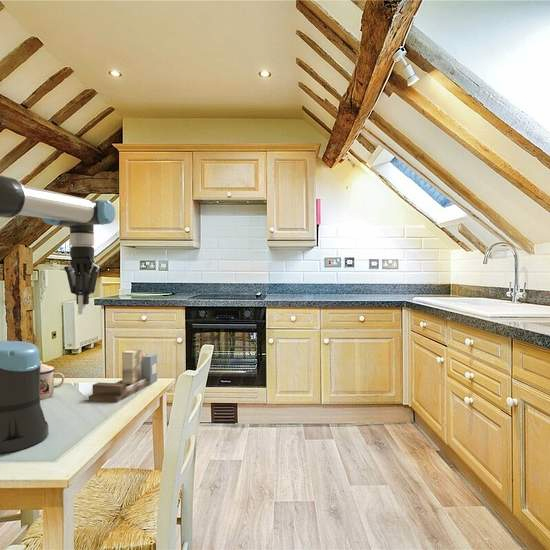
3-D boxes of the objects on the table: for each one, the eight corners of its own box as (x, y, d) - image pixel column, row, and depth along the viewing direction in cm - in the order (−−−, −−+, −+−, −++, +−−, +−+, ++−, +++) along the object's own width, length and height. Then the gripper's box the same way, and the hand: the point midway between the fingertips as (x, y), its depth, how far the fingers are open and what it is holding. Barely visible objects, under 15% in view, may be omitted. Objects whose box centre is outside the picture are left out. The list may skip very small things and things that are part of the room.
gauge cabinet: (151, 384, 146) (150, 356, 146) (125, 383, 148) (125, 356, 148) (157, 380, 151) (157, 354, 151) (132, 379, 153) (132, 353, 153)
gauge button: (142, 365, 148) (142, 354, 148) (135, 365, 148) (135, 354, 148) (146, 364, 151) (146, 353, 151) (139, 363, 151) (139, 353, 151)
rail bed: (117, 402, 126) (117, 387, 126) (88, 400, 127) (88, 386, 127) (157, 380, 151) (157, 368, 151) (132, 379, 153) (132, 367, 153)
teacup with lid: (20, 402, 126) (19, 365, 126) (25, 394, 135) (24, 360, 135) (63, 397, 131) (62, 361, 131) (65, 390, 139) (65, 356, 139)
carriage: (132, 384, 140) (132, 352, 140) (122, 383, 141) (122, 352, 141) (141, 379, 146) (141, 349, 146) (131, 379, 147) (131, 349, 147)
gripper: (105, 246, 143) (106, 313, 143) (73, 247, 145) (73, 312, 145) (91, 245, 135) (92, 315, 135) (58, 246, 138) (58, 314, 138)
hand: (82, 313), depth 140 cm, fingers closed
